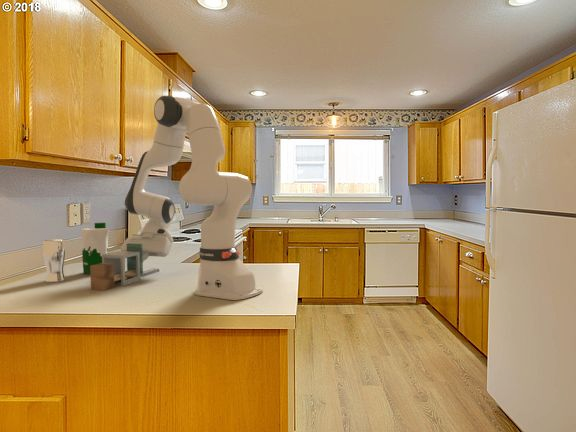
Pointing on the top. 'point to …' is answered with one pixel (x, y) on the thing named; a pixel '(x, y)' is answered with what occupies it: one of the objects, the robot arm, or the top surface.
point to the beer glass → (54, 259)
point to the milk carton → (94, 245)
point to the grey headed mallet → (119, 265)
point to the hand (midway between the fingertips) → (137, 263)
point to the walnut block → (102, 276)
